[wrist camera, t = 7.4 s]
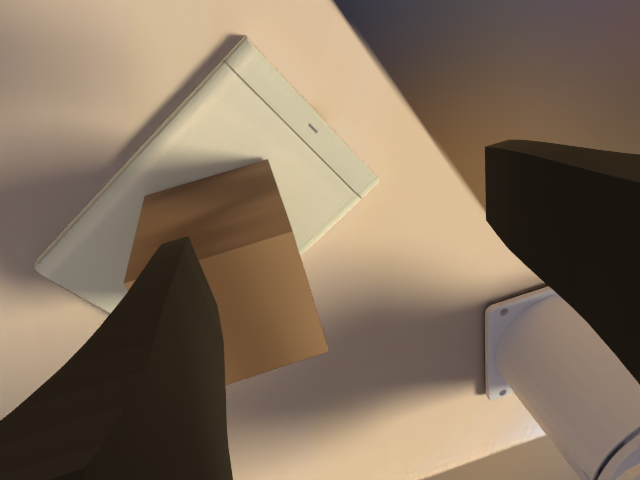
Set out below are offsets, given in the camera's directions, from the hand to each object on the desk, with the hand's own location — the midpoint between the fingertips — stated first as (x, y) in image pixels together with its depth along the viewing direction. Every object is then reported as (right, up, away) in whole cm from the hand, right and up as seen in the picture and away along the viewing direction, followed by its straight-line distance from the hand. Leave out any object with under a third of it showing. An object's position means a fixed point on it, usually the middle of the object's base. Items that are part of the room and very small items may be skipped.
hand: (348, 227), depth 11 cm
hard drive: (-5, +1, +10) cm, 12 cm away
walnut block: (-5, 0, +9) cm, 10 cm away
